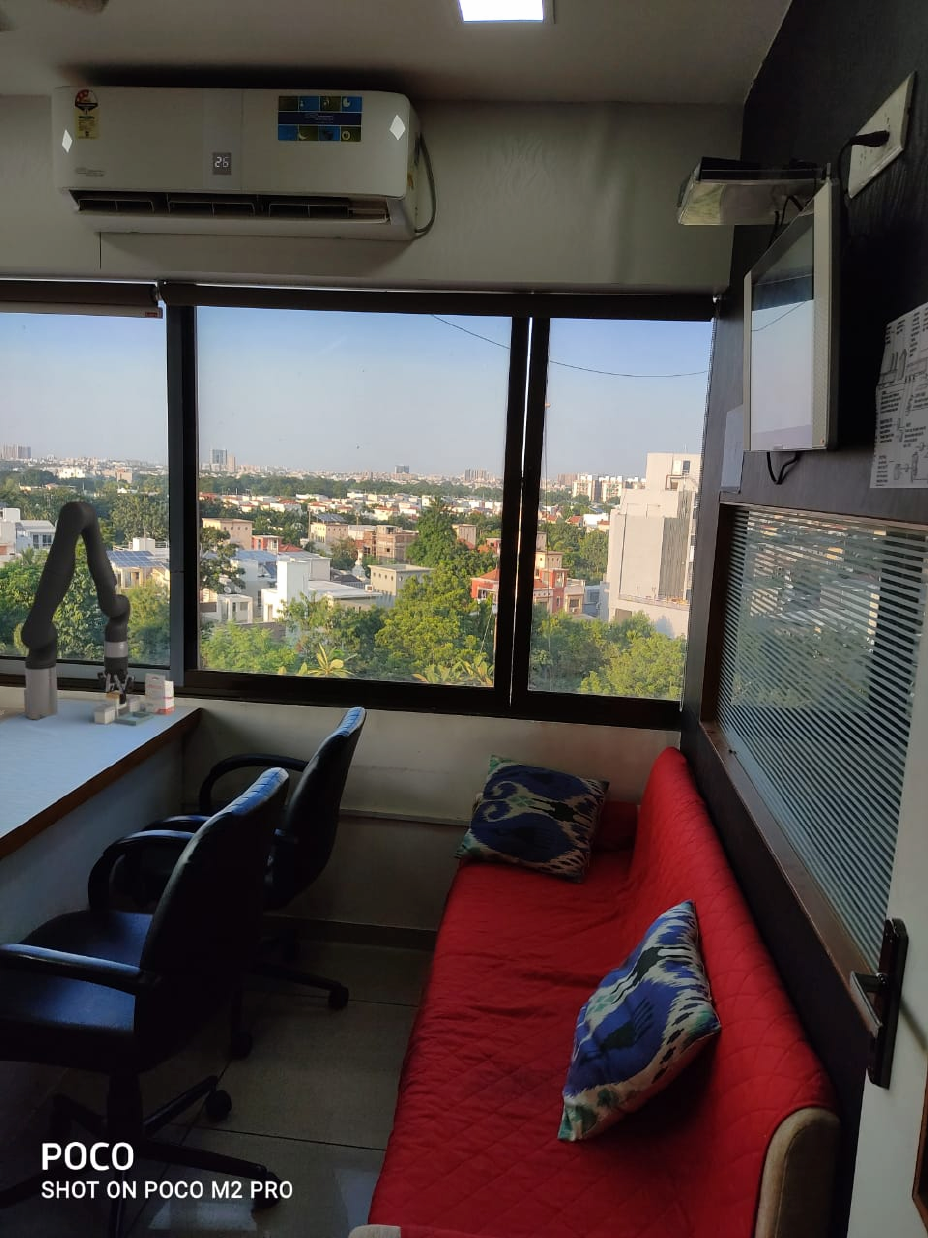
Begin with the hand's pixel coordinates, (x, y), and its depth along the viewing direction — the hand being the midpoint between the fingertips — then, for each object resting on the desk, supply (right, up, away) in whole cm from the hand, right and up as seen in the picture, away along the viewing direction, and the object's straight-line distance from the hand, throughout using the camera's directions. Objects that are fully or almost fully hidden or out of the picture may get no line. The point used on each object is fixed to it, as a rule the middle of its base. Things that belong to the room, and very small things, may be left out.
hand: (116, 702), depth 283 cm
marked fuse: (0, -1, 0) cm, 1 cm away
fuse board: (0, -6, +1) cm, 6 cm away
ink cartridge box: (+11, -5, +9) cm, 15 cm away
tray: (+7, -7, -3) cm, 10 cm away
